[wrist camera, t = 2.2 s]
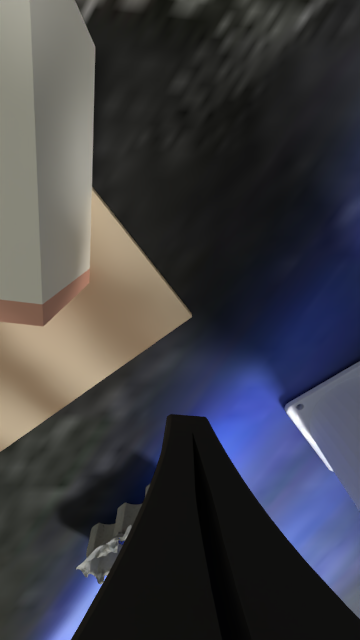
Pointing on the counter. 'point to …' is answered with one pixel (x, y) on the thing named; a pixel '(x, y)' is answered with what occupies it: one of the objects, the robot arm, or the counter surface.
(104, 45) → the counter surface
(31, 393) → the wooden board
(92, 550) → the egg carton
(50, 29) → the cream block
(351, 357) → the counter surface
